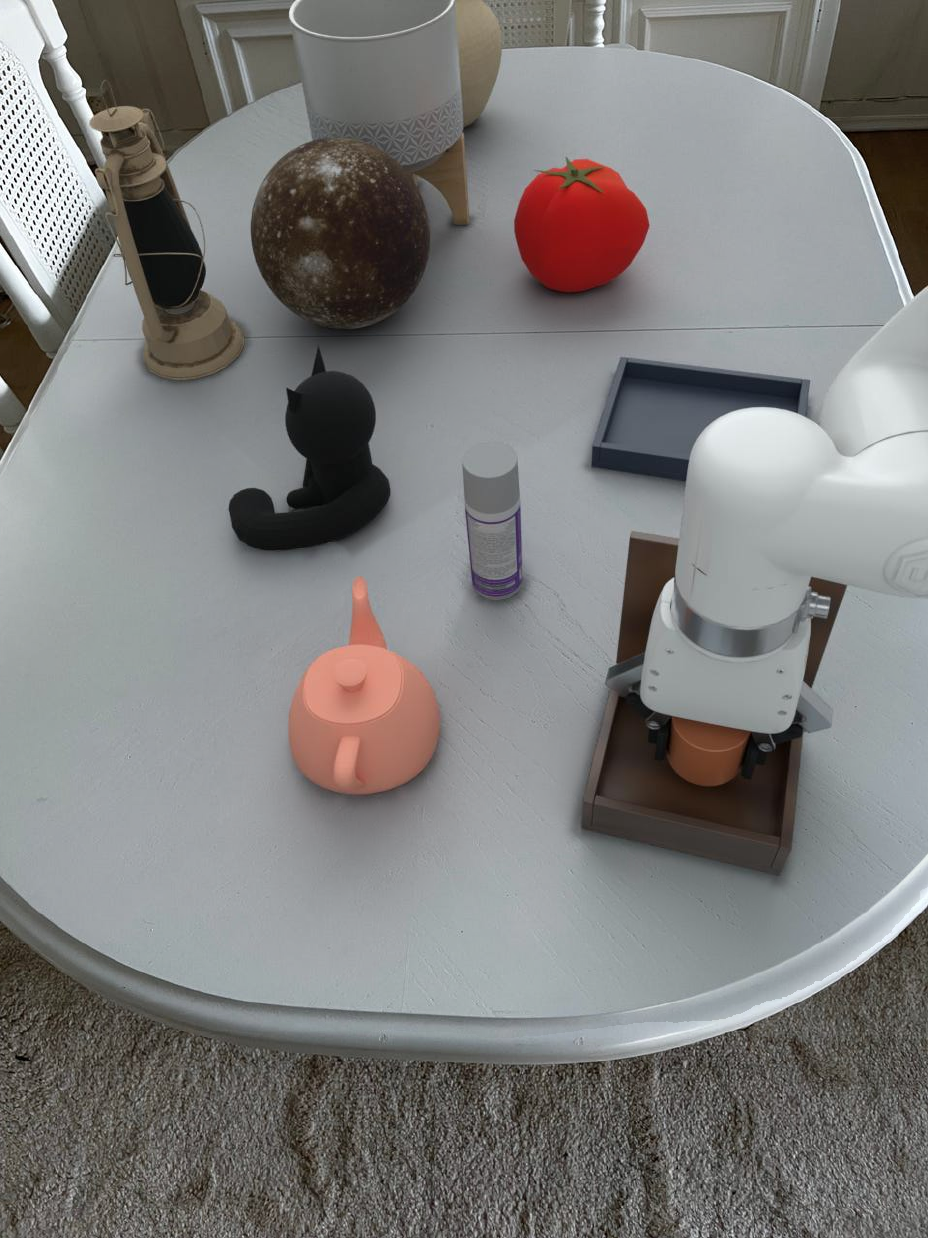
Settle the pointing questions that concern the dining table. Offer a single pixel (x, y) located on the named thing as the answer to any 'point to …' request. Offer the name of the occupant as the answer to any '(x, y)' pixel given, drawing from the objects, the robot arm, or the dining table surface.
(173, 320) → the lantern
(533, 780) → the dining table surface
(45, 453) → the dining table surface
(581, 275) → the tomato
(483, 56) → the vase
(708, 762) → the orange cylinder puck
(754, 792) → the brown wooden shallow box
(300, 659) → the dining table surface
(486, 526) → the container
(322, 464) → the figurine
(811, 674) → the lid
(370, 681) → the teapot
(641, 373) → the tray
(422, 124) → the planter
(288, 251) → the decorative sphere
